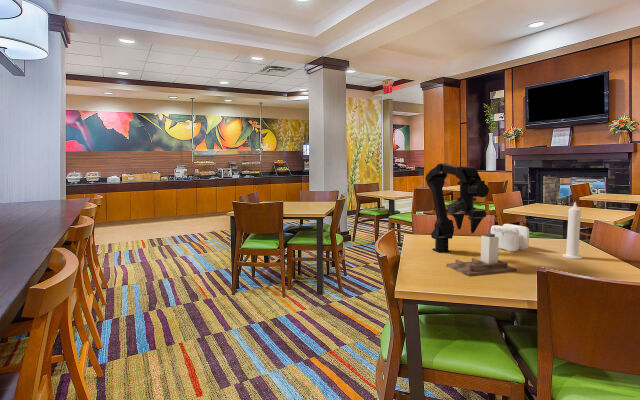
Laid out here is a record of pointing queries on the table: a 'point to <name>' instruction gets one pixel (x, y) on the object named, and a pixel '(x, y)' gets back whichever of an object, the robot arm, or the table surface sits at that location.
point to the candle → (573, 233)
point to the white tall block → (489, 248)
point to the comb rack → (480, 267)
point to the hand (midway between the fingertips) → (465, 231)
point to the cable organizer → (511, 237)
